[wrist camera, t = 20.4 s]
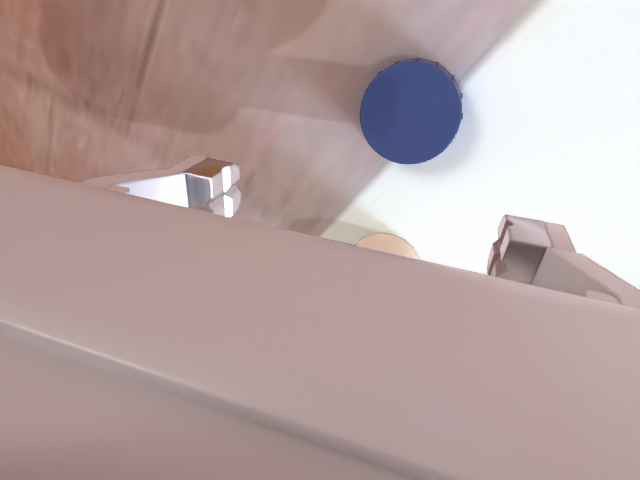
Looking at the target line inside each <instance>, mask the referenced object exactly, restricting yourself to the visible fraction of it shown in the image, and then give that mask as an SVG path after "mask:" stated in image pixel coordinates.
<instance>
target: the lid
mask: <svg viewBox="0 0 640 480" xmlns="http://www.w3.org/2000/svg"><path fill="white" fill-rule="evenodd" d="M377 75H378V76H377V77H376V78H374V80H373V81H372V82H371V83H370V85H369V86H368V88H367V89H366V91H365V94H364V96H363V99H362V103H361V108H360V122H361V128H362V131H363V134H364V136H365V138H366V140H367V141H368V143H369V145H370V146H371V147H372V148H373V149H374V150H375V151H376V152H377V153H378V154H379V155H381V156H382V157H384V158H386V159H388V160H390V161H393V162H396V163H400V164H417V163H421V162H425V161H428V160H430V159H432V158H434V157H436V156H437V155H439V154H440V153H441V152H443V151H444V150H445V149H446V148H447V147H448V146H449V144H450V143H451V142H452V140H453V139H454V138H455V135H456V133H457V131H458V129H459V126H460V122H461V119H462V118H463V113H462V93H460V89H459V87H458V84H457V83H456V81H455V79H454V75H451V74H450V73H449V72H448V71H447V70H446V69H445V68H444V67H442V66H441V65H439V63H438V62H437V63H435V62H432V61H429V60H425V59H420V57H418V58H416V59H408V60H403V61H400V60H399V61H397V62H395V64H394V65H392V66H390V67H388V68H387V69H385V70H384V71H381V72H380V73H378V74H377Z"/></svg>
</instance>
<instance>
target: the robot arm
mask: <svg viewBox="0 0 640 480" xmlns="http://www.w3.org/2000/svg"><path fill="white" fill-rule="evenodd" d="M240 179H241V175H240V168H239V166H238V164H235V163H230V162H225V161H221V160H216V159H211V158H209V157H203V156H197V155H193V156H191V157H190V158H188V159H186V160H184V161H182V162H180V163H178V164H176V165H174V166H172V167H170V168H169V169H167V170H166V169H157V170H149V171H142V172H134V173H127V174H119V175H112V176H104V177H97V178H89V179H87V180H85V181H83V182H81V183H77V182H73V181H68V180H64V179H60V178H55V177H51V176H46V175H42V174H37V173H33V172H29V171H24V170H20V169H15V168H11V167H6V166H2V165H0V480H640V290H638V289H637V288H635V287H634V286H632V285H630V284H629V283H627V282H626V281H624V280H623V279H621V278H619V277H618V276H616V275H615V274H613V273H611V272H610V271H608V270H607V269H605V268H603V267H602V266H600V265H599V264H597V263H596V262H594V261H592V260H591V259H589V258H588V257H586V256H584V255H583V254H578V253H576V251H575V249H574V246H573V244H572V242H571V240H570V237H569V235H568V233H567V231H566V228H565V226H564V225H560V224H554V223H548V222H544V221H540V220H534V219H528V218H522V217H516V216H510V215H504V216H503V218H502V220H501V222H500V225H499V227H498V237H499V240H497V241H496V242H494V243H493V245H492V248H491V251H490V255H489V259H488V266H487V274H488V275H485V274H481V273H476V272H472V271H467V270H463V269H458V268H454V267H450V266H445V265H441V264H436V263H432V262H427V261H423V260H419V259H414V258H410V257H405V256H401V255H396V254H392V253H388V252H383V251H379V250H374V249H370V248H365V247H361V246H356V245H352V244H348V243H343V242H339V241H334V240H330V239H325V238H321V237H316V236H312V235H308V234H303V233H299V232H294V231H290V230H285V229H281V228H276V227H272V226H268V225H263V224H259V223H254V222H250V221H245V220H241V219H237V218H232V217H233V216H234V215H235V214H236V213H237V211H238V209H239V207H240V204H241V190H240V188H239V187H238V185H237V183H238V181H239V180H240Z"/></svg>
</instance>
